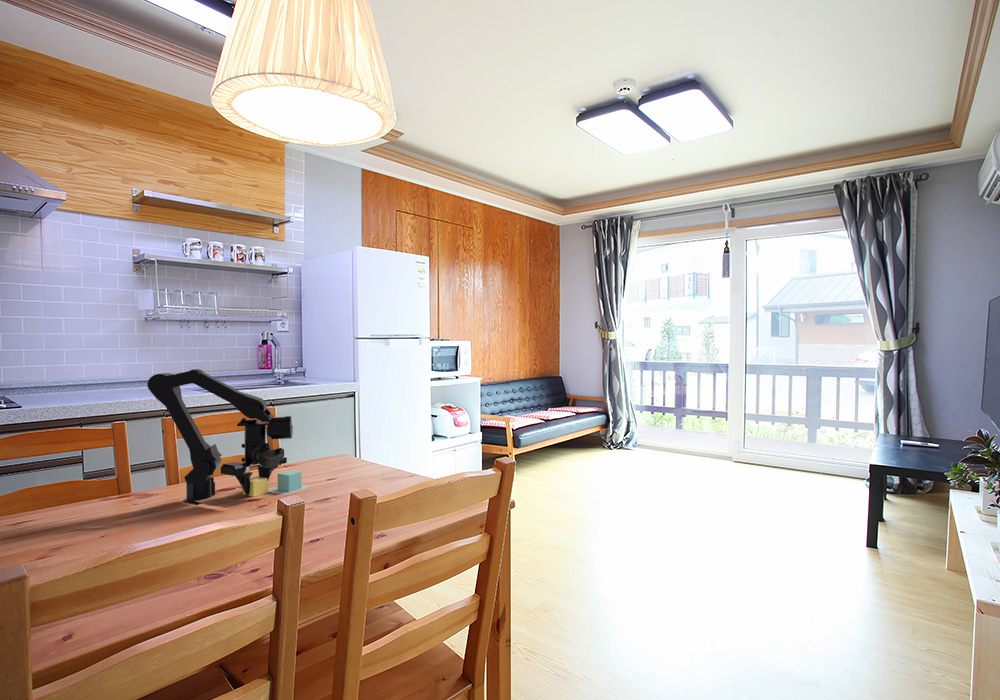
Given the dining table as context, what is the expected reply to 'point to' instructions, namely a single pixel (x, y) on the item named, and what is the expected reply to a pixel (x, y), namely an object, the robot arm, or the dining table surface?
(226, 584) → the dining table surface
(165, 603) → the dining table surface
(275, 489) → the build plate
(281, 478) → the teal brick
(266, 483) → the ochre brick
